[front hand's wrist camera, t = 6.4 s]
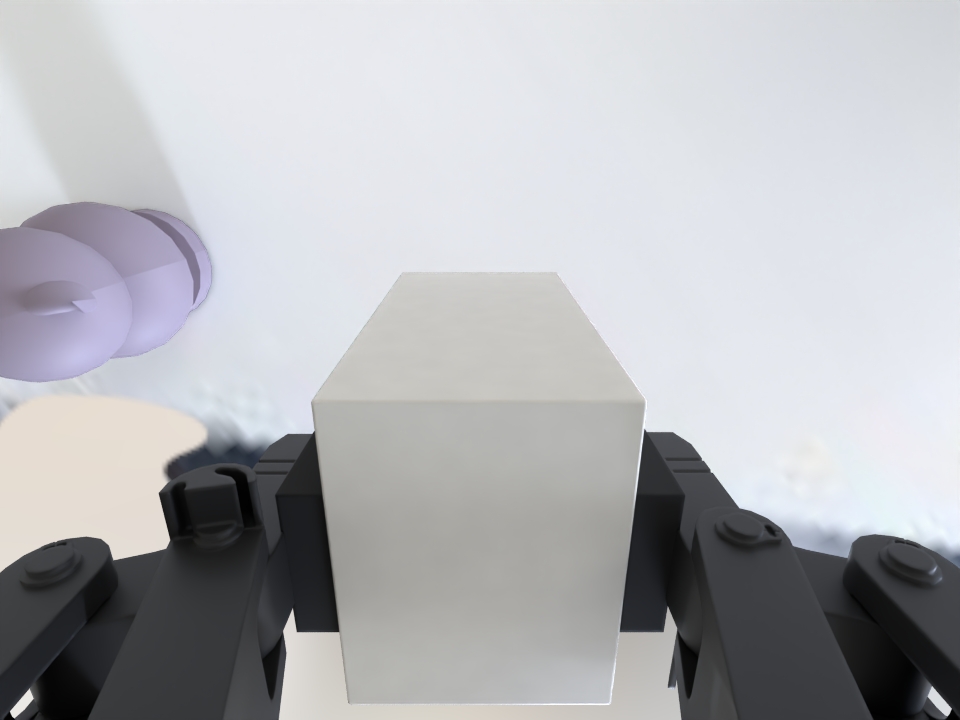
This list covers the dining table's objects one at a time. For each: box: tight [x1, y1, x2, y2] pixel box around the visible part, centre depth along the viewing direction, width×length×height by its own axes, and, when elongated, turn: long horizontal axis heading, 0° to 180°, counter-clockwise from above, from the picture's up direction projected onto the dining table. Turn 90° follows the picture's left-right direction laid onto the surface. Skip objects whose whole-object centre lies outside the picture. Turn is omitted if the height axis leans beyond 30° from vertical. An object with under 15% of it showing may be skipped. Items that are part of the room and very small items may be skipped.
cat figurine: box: [0, 202, 211, 382], centre depth 25 cm, size 9×8×12 cm
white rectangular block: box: [311, 273, 647, 705], centre depth 12 cm, size 5×6×9 cm
